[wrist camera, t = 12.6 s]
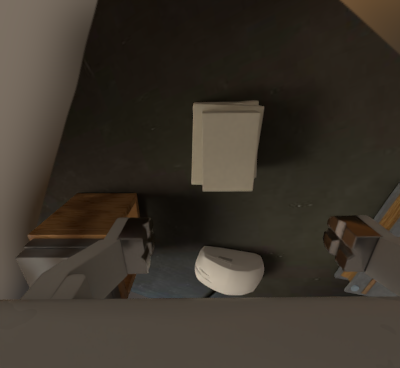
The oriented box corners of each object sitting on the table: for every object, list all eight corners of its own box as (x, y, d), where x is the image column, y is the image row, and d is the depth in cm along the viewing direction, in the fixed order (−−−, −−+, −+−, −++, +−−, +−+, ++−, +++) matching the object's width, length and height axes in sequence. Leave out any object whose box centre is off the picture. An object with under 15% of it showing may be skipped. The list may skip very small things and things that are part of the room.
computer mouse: (199, 242, 39) (198, 269, 34) (266, 254, 40) (276, 281, 34) (192, 268, 42) (191, 296, 36) (255, 278, 43) (263, 307, 37)
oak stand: (93, 249, 40) (42, 324, 27) (77, 193, 35) (5, 252, 22) (145, 249, 40) (118, 324, 27) (136, 192, 35) (98, 252, 22)
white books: (193, 171, 33) (191, 187, 28) (191, 100, 29) (188, 102, 24) (250, 171, 33) (259, 187, 28) (256, 99, 29) (269, 102, 23)
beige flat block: (202, 183, 28) (202, 191, 25) (202, 110, 24) (202, 113, 22) (248, 182, 28) (252, 191, 25) (255, 110, 24) (260, 112, 22)
